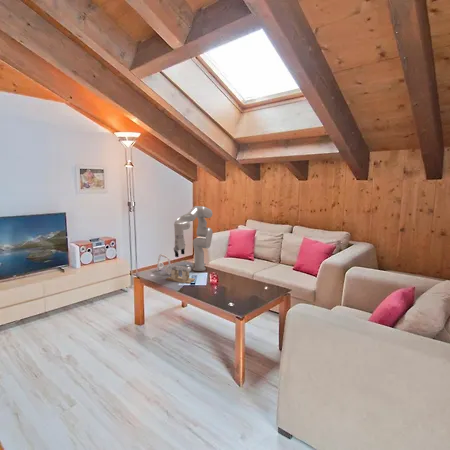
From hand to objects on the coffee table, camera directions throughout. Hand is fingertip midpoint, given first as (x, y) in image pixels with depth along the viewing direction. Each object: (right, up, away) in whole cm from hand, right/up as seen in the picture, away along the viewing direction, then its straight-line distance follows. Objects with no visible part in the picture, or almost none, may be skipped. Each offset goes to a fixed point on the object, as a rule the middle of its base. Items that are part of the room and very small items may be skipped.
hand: (179, 255), depth 287 cm
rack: (0, -22, +3) cm, 23 cm away
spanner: (0, -13, +2) cm, 13 cm away
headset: (-18, -19, +26) cm, 37 cm away
